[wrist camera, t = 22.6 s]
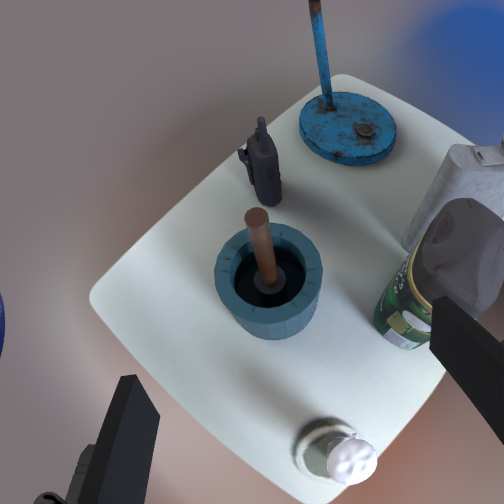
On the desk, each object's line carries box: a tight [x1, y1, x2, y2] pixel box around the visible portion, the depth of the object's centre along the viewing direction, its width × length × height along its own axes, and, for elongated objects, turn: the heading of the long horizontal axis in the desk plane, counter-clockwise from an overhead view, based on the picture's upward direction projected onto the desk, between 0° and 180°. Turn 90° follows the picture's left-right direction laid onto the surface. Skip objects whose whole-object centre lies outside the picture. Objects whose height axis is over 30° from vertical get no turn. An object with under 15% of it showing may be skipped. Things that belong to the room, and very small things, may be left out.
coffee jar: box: [374, 198, 504, 349], centre depth 27 cm, size 10×8×19 cm
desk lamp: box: [299, 0, 396, 165], centre depth 28 cm, size 16×22×45 cm
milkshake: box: [326, 433, 377, 485], centre depth 26 cm, size 4×5×10 cm
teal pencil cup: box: [214, 223, 323, 340], centre depth 35 cm, size 10×10×9 cm
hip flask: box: [402, 135, 504, 253], centre depth 30 cm, size 16×4×20 cm, turn 101°
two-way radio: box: [237, 117, 282, 206], centre depth 38 cm, size 6×4×15 cm
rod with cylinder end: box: [245, 207, 288, 308], centre depth 30 cm, size 3×3×18 cm
